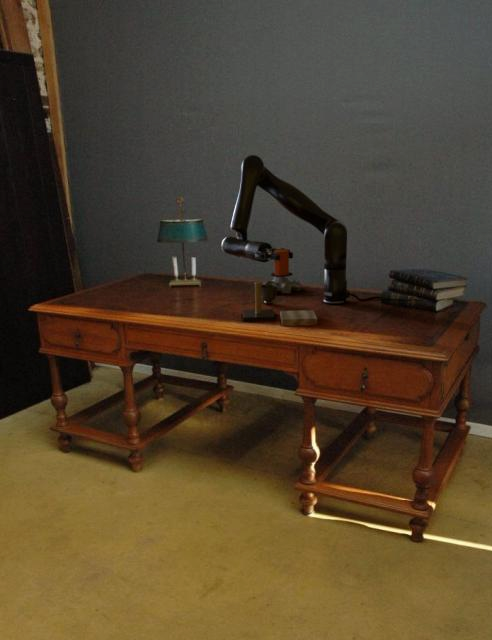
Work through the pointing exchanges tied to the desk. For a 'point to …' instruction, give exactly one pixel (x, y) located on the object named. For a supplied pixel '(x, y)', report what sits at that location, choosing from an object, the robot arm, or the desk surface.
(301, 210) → the robot arm
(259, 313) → the hat stand
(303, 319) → the grey stone tile
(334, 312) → the desk surface
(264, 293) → the dark ridged round part
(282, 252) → the hat
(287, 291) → the fossil
